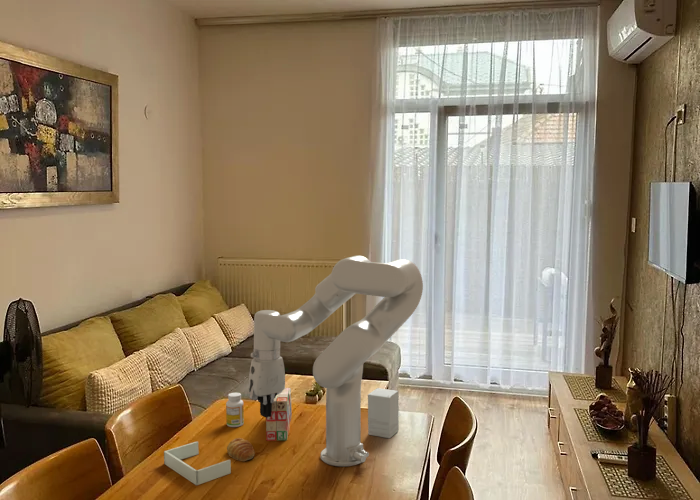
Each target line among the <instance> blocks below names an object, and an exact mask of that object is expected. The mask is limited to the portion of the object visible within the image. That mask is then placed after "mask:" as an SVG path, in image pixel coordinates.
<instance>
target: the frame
mask: <svg viewBox="0 0 700 500" xmlns="http://www.w3.org/2000/svg"><path fill="white" fill-rule="evenodd" d="M197 455H199V441H194V442H190V443H187V444H184V445H180V446H177V447H174V448H171V449H168V450H164V451H163V460H164V463H163V464H164V465H166V466H167V467H168V468H170V469H171V470H173V472H176V473H177V474H179V475H180V476H181V477H183V478H185V479H186V480H188V481H189V482H191V483H192V484H193V485H195V486H199V485H201V484H204V483H207V482H211V481H212V480H215V479H217V478H218V479H219V478H221V477H224V476H227V475H229V474H231V472H232V471H231V470H232V467H231V459H227V460H224V461H221V462H217V463H215V464H212V465H209V466H205V467H202V468H200V469H195V468H194V467H192V466H191V465H190V464H188V463H186V462H184V461H183V460H184V459H188V458H191V457H194V456H197Z"/></svg>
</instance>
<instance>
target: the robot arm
mask: <svg viewBox="0 0 700 500" xmlns="http://www.w3.org/2000/svg"><path fill="white" fill-rule="evenodd" d="M423 282H424V281H423V277H422V274H421V271H420V269H419V268H418V266H417V265H416V264H415V263H414V262H412V261H411V260H408V259H403V258H402V259H395V260H391V261H390V262H386V263H385V262H373V261H371V260H370V259H369V258H367V257H365V256H363V255H353V256H350V257H346V258H341V259H340V260H338V261H337V262H336V263H335V264H334V265H333V268H332V270H331V273H330V274H328V276H325V278H323V280H322V281H321V282H320V281H319V283H318V284H317V285H316V286H315V289H314V291H315V292H314V295H313V296H312V297H310V299H309V300H307V301H306V302H305V303H303V304H302V305H301V306H300V307H299V308H297V309H296V310H294V311H293V310H292V311H290V312H288V313H285V314H282V315H281V314H280V312H279V311H277V310H273V309H272V310H271V309H263V310H262V309H261V310H259V311H257V312H256V313H254V318H253V351H252V352H251V353H250V358H252V359H251V362H250V368H249V374H248V392H249V397H248V398H249V399H250V400H252V401H257V402H259V412H260V416H262V417H263V418H265V419H266V418H267V417H271V412H272V403H273V402H274V398H275V397H276V395H278V394H280V393H282V391H283V390H284V389H285V388H286V375H285V374H286V373H285V364H284V359H283V357H282V356H281V342H284V343H289V342H294V341H296V340H297V339H299V338H301V337H303V336H306V335H309V333H311V332H312V331H313V330H314V329H316V328H317V327H318V326H319V325H321V324H322V323H323V322H325V320H327V319H328V318H329V317H330V316H331V315H332V314H334V313H335V312H336V310H338V309H339V308H340V307H341V306H342V305H344V304H345V303H346V302H348V301H349V300H351V298H353V296H355V295H356V294H357V295H364V296H374V297H381V298H382V299H381V300H380V301H379V302H378V303H377V304H375V306H374V308H372V310H370V311H369V312H368V313H367V314H366V315H365V316H364V317H363V318H362V319H360V320H359V321H358V320H357V321H355V322H353V324H350V325H349V326H348V327H346V328H345V329H343V330H342V331H340V333H339V334H338V335H337V336H336V337H335V338H334V339H333V340H332V341H331V343H329V344H328V346H327V347H325V349H324V350H323V351H322V352H321V353H320V354H319V355H318V356H317V357H316V359H315V361H314V363H313V366H312V377H313V379H314V381H315V382H316V383H317V384H318V386H320V387H322V388H325V389H326V390H325V439H326V440H325V446H326V447H325V448H324V449H323V450H321V452H320V460H321V461H323V462H324V463H325V464H327V465H329V466H333V467H334V466H335V467H351V466H352V467H353V466H356V465H359V464H361V463H365V462H366V460H367V458H368V457H369V455H370V453H369V452H368V451H366V450H365V449H364V443H362V442H361V441H362V440H361V438H362V437H361V436H362V435H361V433H362V430H361V429H362V427H361V423H362V422H361V411H362V410H361V406H362V405H361V402H362V397H361V396H362V381H363V380H362V379H363V373H364V363H366V361H368V360H369V359H370V358H371V357H372V356H374V355H375V354H377V353H378V352H379V351H380V350H381V349H382V348H383V346H384V345H385V344H386V343H387V341H389V340H390V338H392V337H393V336H394V334H395V333H397V331H398V330H399V329H400V328H401V327H402V326H403V325H404V323H406V322H407V321H408V319H410V317H411V316H412V314H414V312H415V311H416V309H417V308H418V306H419V304H420V302H421V300H422V295H423V290H424V283H423Z"/></svg>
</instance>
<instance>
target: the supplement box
mask: <svg viewBox="0 0 700 500" xmlns="http://www.w3.org/2000/svg"><path fill="white" fill-rule="evenodd" d="M399 408H400V407H399V390H394V389H387V388H380V387H376V389H374V390H372V391H371V392H369V393H368V394H367V427H368V428H367V430H368V433H367V434H368V435H369V436H374V437H379V438H386V439H391V438H392V437H393V436H394V435H395V434H397V433H398V432H399V429H400V426H399V425H400V424H399V423H400V422H399V421H400V420H399V419H400V418H399V417H400V416H399V410H400V409H399Z"/></svg>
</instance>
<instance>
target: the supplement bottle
mask: <svg viewBox="0 0 700 500" xmlns="http://www.w3.org/2000/svg"><path fill="white" fill-rule="evenodd" d="M227 395H228V396H227V398H228V400H227V401H226V403H225V409H226V410H225V413H226V414H225V416H226V417H225V418H226V425H227V427H230V428H238V427H241V426H243V425H244V423H245V419H244V418H245V417H244V416H245V415H244V413H245V412H244V407H245V406H244V400H243V399H242V394H241V393H240V392H231V393H230V392H229V393H228V394H227Z"/></svg>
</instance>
